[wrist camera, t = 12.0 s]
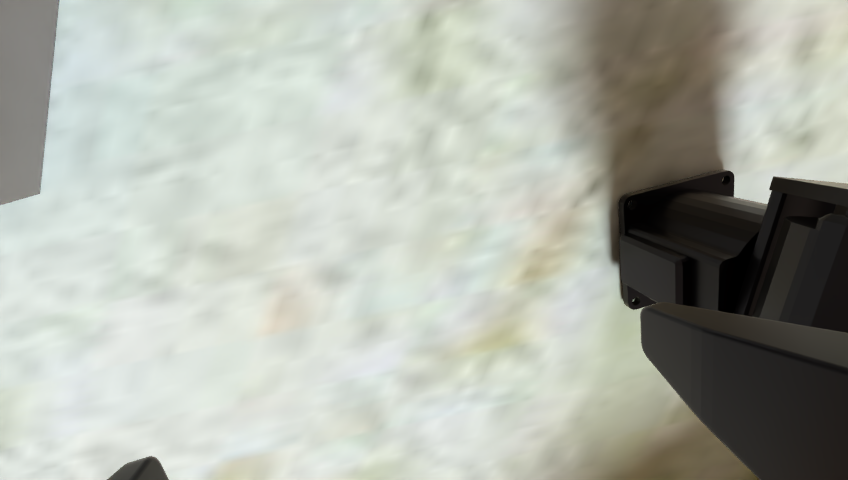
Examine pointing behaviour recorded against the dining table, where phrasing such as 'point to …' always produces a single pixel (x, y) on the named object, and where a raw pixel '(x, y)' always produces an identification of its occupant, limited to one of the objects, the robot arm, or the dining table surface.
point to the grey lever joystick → (24, 93)
